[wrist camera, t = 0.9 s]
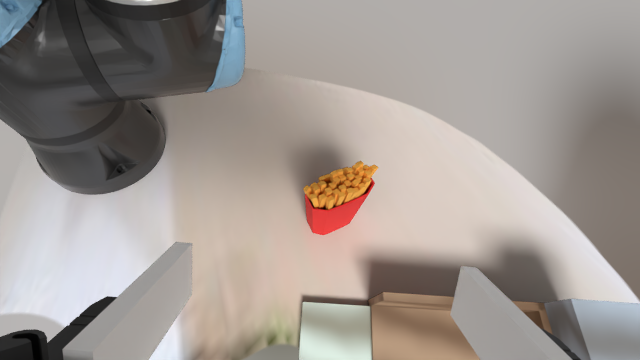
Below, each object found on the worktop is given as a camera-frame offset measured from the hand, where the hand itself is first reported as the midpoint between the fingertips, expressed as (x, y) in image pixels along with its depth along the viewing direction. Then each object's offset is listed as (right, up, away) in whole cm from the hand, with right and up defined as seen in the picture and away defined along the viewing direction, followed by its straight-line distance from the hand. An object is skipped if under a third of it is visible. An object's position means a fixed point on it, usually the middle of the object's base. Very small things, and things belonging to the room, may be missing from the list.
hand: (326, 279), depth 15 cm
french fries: (+1, -1, +27) cm, 27 cm away
